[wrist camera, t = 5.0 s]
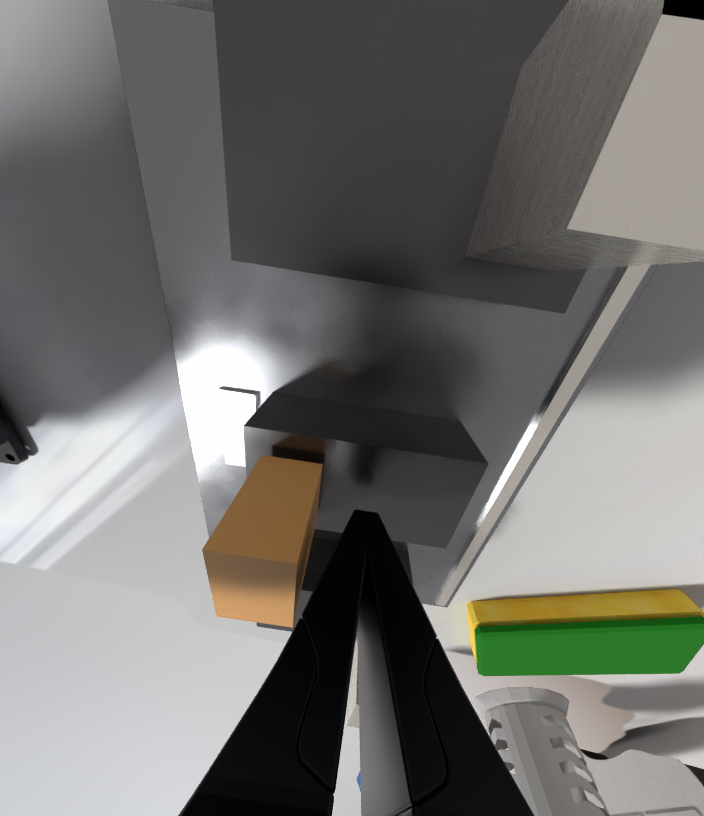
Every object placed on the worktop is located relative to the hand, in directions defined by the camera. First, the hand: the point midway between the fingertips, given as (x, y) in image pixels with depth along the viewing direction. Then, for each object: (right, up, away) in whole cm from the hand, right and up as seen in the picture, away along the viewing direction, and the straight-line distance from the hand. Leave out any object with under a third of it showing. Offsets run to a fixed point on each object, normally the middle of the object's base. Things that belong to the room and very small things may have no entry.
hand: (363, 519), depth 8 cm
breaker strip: (0, +2, +4) cm, 5 cm away
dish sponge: (+16, -12, +12) cm, 23 cm away
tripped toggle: (-3, +1, +1) cm, 3 cm away
